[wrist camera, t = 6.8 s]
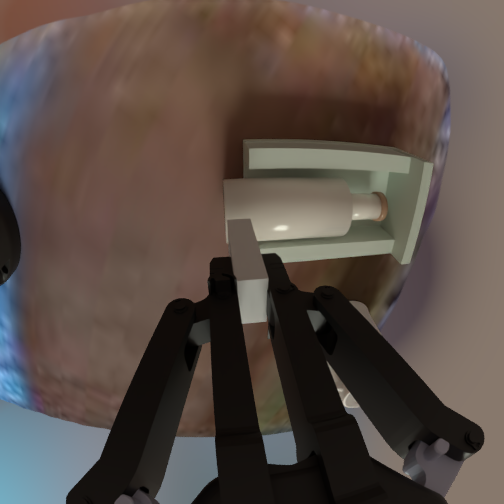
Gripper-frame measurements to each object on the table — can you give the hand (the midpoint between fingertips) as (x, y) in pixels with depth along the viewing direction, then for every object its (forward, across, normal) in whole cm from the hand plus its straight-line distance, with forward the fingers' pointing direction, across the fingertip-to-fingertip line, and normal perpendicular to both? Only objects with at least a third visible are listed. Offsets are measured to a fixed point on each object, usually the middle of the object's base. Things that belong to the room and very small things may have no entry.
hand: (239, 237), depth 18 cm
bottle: (+5, -1, 0) cm, 5 cm away
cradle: (+9, +9, 0) cm, 13 cm away
